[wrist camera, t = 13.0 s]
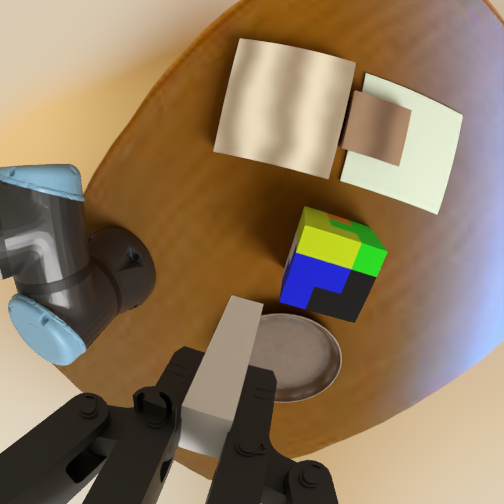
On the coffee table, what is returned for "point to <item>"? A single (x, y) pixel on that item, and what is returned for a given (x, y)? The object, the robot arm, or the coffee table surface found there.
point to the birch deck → (285, 106)
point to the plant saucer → (296, 355)
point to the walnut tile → (375, 128)
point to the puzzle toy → (331, 265)
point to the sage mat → (410, 150)
